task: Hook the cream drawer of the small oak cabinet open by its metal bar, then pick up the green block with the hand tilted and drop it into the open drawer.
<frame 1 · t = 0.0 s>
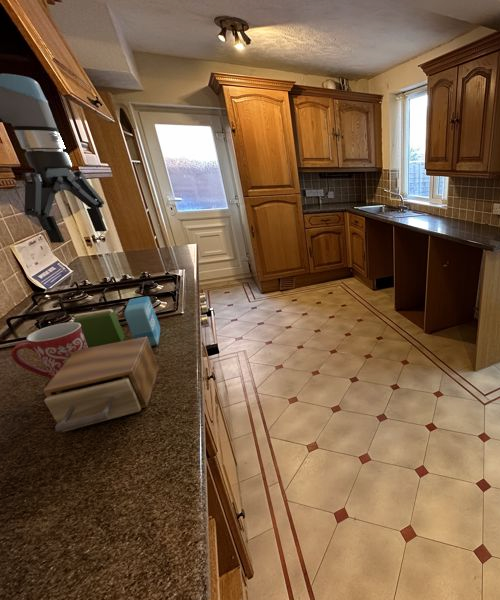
hand: (81, 236, 88), 30 cm above the worktop, tool pointing down, fingers open, 13 cm apart
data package: (150, 340, 96), on the worktop
cabinet: (118, 395, 73), on the worktop
green block: (106, 342, 95), on the worktop
drawer: (101, 393, 67), point 5 cm above the worktop, slide at 1.0 cm
mug: (69, 381, 78), on the worktop
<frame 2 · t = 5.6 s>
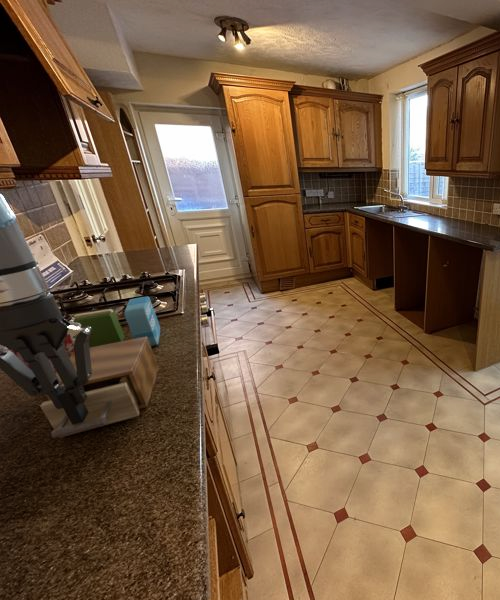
hand: (80, 418, 58), 7 cm above the worktop, tool pointing down, fingers closed
drawer: (99, 398, 65), point 5 cm above the worktop, slide at 2.6 cm, touching gripper
everything else where it was.
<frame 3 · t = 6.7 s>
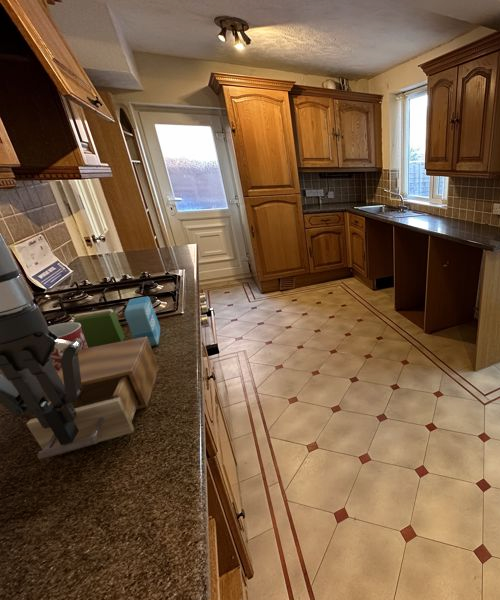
hand: (70, 437, 54), 7 cm above the worktop, tool pointing down, fingers closed
drawer: (91, 413, 61), point 5 cm above the worktop, slide at 7.4 cm, touching gripper
everything else where it was.
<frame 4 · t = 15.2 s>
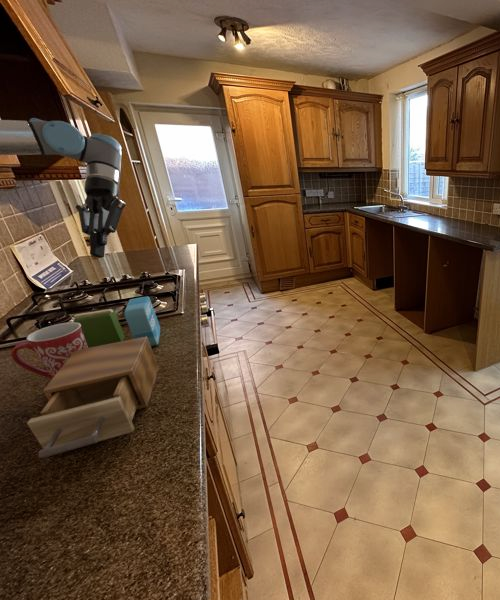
hand: (97, 255, 90), 25 cm above the worktop, tool tilted 40°, fingers closed
drawer: (91, 413, 62), point 5 cm above the worktop, slide at 7.2 cm
everything else where it was.
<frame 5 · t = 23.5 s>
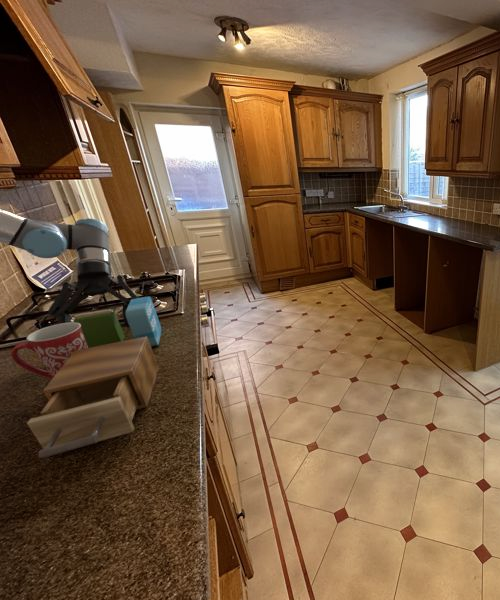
hand: (98, 331, 91), 5 cm above the worktop, tool tilted 45°, fingers open, 13 cm apart
nothing on the worktop moved.
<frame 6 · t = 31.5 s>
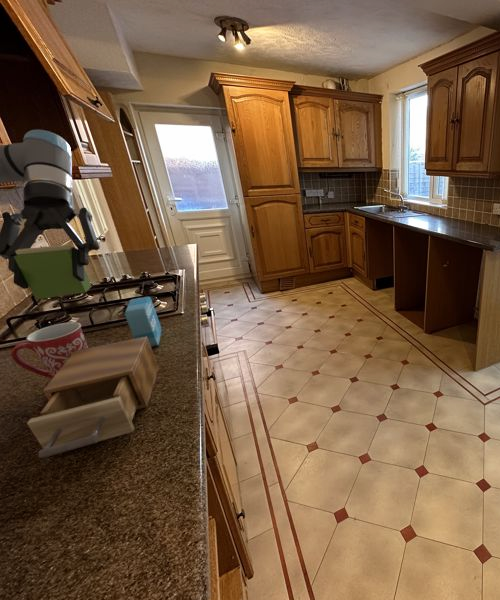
hand: (50, 281, 65), 27 cm above the worktop, tool tilted 45°, fingers closed on green block, 8 cm apart
green block: (65, 292, 70), point 23 cm above the worktop, touching gripper
everything else where it was.
when the fingers open (12 cm above the worktop, at t = 38.9 s): green block drops 6 cm, resting on drawer.
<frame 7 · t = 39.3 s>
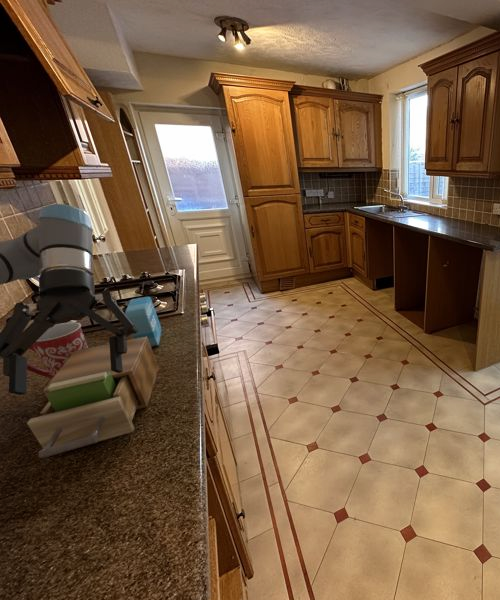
hand: (69, 381, 57), 13 cm above the worktop, tool tilted 45°, fingers open, 13 cm apart
green block: (99, 420, 64), point 2 cm above the worktop, touching drawer
drawer: (91, 413, 62), point 5 cm above the worktop, slide at 7.2 cm, touching green block
everything else where it was.
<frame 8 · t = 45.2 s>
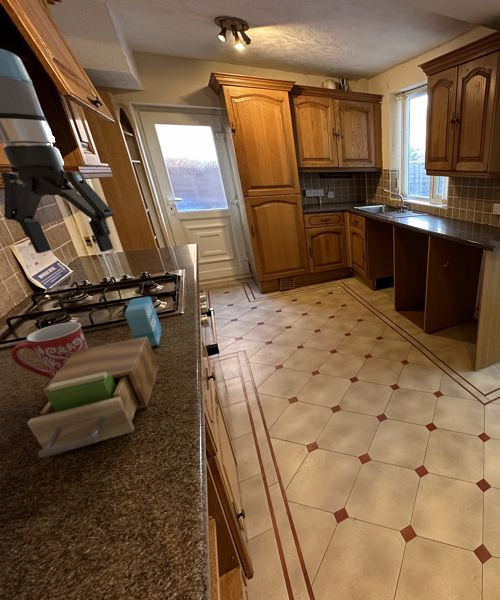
hand: (75, 251, 72), 31 cm above the worktop, tool pointing down, fingers open, 13 cm apart
nothing on the worktop moved.
at the end: drawer slide at 7.2 cm; green block inside the target area in the drawer (0.9 cm from its centre), point 2.0 cm above the cabinet's base; the gripper is holding nothing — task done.
